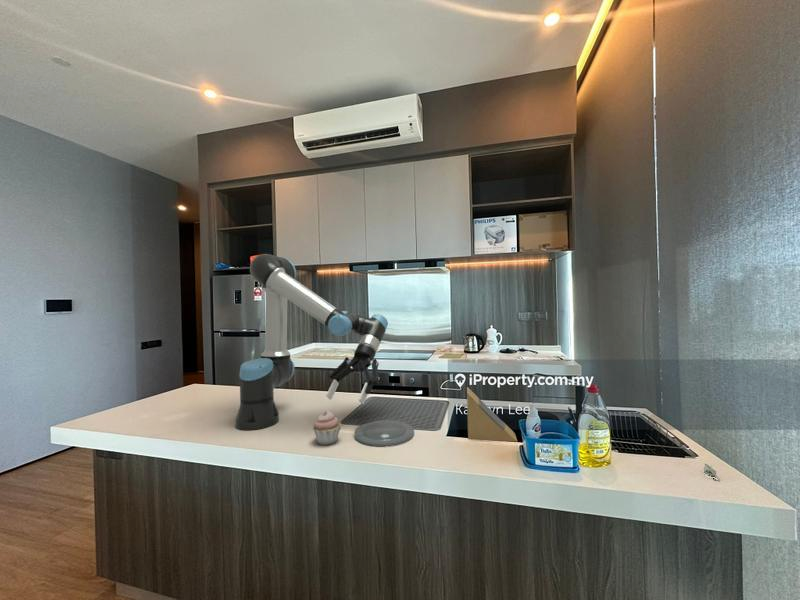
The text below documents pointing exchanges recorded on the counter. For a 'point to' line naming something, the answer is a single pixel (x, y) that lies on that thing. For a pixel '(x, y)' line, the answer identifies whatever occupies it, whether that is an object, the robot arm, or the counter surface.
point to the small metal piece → (710, 470)
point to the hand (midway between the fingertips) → (344, 399)
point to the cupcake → (326, 428)
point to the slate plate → (384, 433)
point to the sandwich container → (485, 422)
